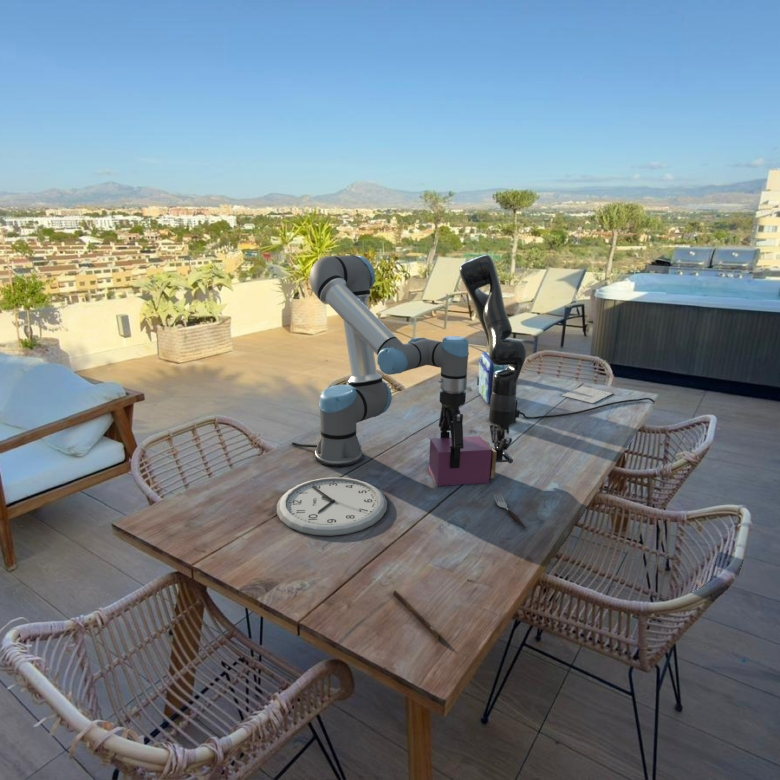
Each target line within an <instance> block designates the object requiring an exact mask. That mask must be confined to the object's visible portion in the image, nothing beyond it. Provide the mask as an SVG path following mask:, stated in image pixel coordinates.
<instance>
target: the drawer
mask: <svg viewBox="0 0 780 780" xmlns="http://www.w3.org/2000/svg"><path fill="white" fill-rule="evenodd" d="M483 440H484V441H485V443H486V444H487V445H488V446H489V447H490V448H491V450H492V451H491V464H490V476H489V479H495V477H496V466H497V463H508V464H513V463H514V459H513V458H512V457H511V456H510V455H509V453H507V451H506V450H503V458H504V459H502V460H496V455H497V451H496V450H495V447H494V446H493V445H491V443H490V442H489V441H488V440H487V439H486V438H485V439H483Z"/></svg>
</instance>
